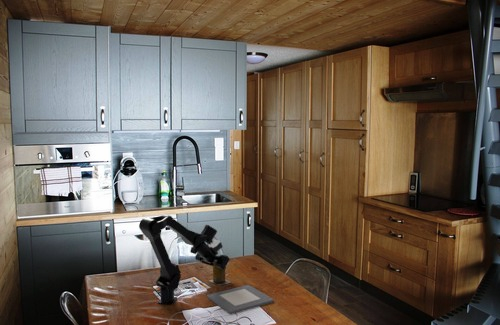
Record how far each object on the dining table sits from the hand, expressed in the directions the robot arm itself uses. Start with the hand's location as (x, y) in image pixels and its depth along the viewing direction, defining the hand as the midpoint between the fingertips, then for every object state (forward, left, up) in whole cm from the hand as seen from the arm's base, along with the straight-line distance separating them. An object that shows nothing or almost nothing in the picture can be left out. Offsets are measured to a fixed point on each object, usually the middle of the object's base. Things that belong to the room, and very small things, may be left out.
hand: (220, 267), depth 203 cm
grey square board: (-19, -14, -7) cm, 25 cm away
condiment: (-2, 0, -7) cm, 7 cm away
